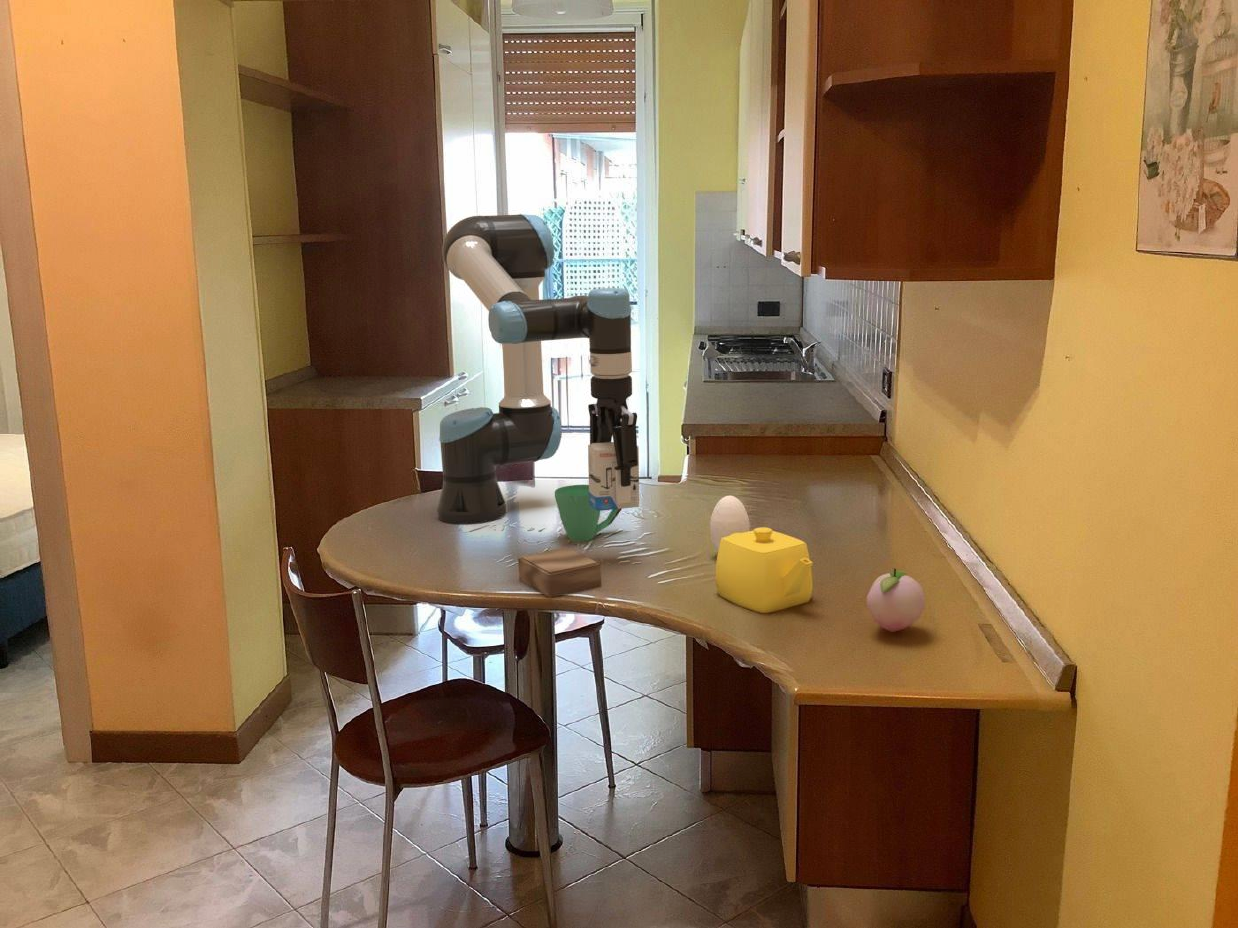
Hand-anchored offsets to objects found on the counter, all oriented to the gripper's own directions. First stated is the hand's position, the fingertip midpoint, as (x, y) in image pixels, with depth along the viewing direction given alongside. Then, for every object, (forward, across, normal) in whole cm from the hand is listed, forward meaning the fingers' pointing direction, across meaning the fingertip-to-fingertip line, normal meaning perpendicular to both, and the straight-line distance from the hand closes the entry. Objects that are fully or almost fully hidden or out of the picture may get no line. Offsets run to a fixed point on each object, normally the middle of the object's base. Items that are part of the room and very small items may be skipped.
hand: (614, 498), depth 193 cm
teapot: (+11, +34, +9) cm, 37 cm away
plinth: (+12, +6, -15) cm, 20 cm away
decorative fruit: (+11, +57, +15) cm, 60 cm away
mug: (+12, -16, +4) cm, 21 cm away
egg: (+12, +12, +18) cm, 25 cm away
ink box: (+2, 0, 0) cm, 2 cm away
